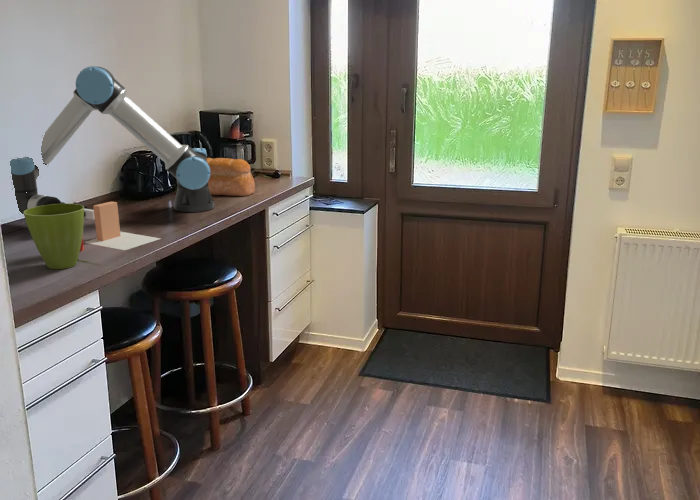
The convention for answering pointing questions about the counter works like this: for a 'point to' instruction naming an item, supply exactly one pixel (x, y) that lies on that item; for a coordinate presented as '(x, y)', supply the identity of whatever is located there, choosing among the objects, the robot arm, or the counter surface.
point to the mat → (124, 241)
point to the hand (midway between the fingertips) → (94, 214)
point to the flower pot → (57, 233)
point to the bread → (230, 177)
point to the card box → (107, 221)
